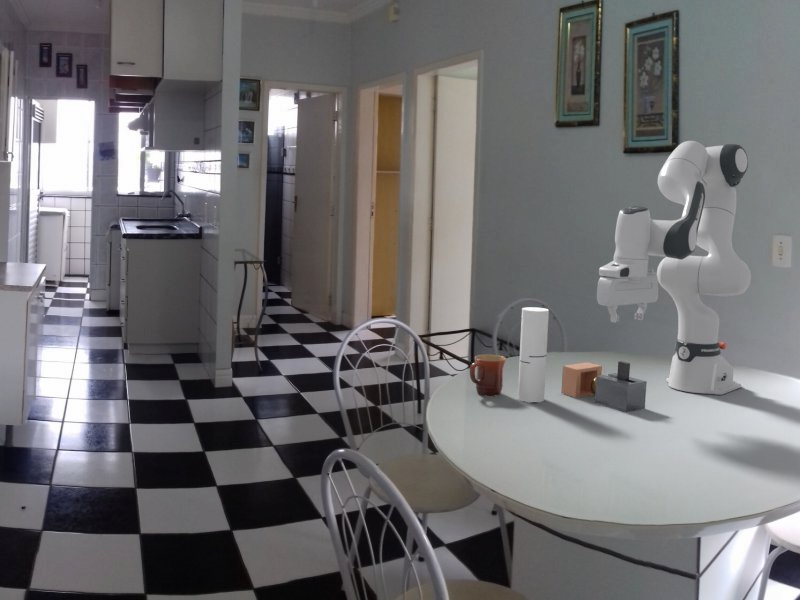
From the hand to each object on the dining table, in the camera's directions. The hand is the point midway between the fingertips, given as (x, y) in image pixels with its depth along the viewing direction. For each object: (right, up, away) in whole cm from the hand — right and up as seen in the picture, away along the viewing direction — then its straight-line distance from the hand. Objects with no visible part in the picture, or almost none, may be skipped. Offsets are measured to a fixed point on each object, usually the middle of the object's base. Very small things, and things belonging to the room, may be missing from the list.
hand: (626, 320), depth 212 cm
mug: (-36, -21, +12) cm, 44 cm away
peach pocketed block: (-9, -21, +15) cm, 27 cm away
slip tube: (-2, -21, +6) cm, 22 cm away
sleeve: (-1, -23, +4) cm, 23 cm away
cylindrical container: (-24, -22, +8) cm, 34 cm away
